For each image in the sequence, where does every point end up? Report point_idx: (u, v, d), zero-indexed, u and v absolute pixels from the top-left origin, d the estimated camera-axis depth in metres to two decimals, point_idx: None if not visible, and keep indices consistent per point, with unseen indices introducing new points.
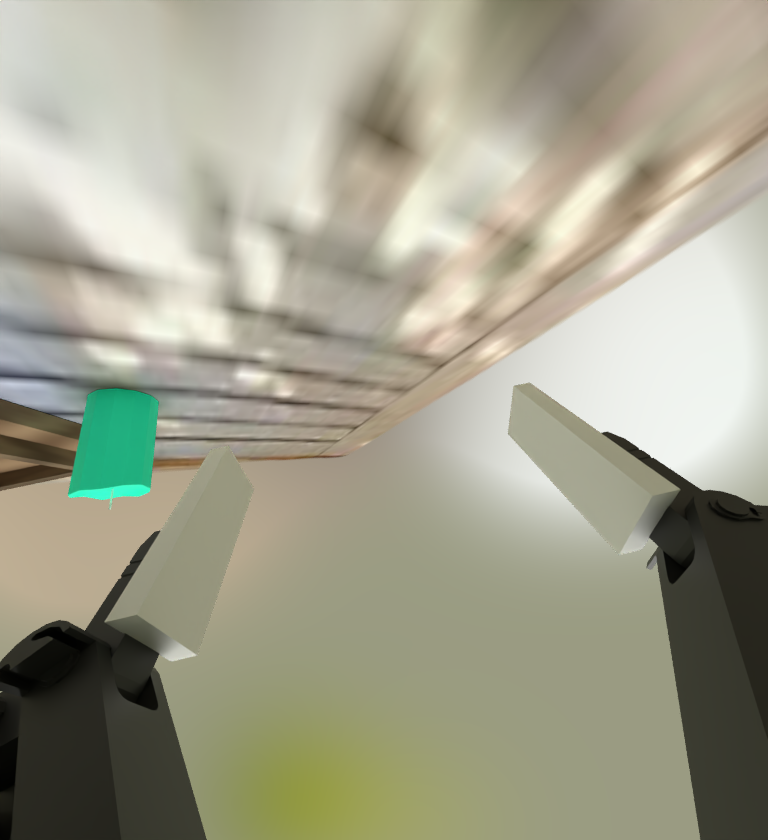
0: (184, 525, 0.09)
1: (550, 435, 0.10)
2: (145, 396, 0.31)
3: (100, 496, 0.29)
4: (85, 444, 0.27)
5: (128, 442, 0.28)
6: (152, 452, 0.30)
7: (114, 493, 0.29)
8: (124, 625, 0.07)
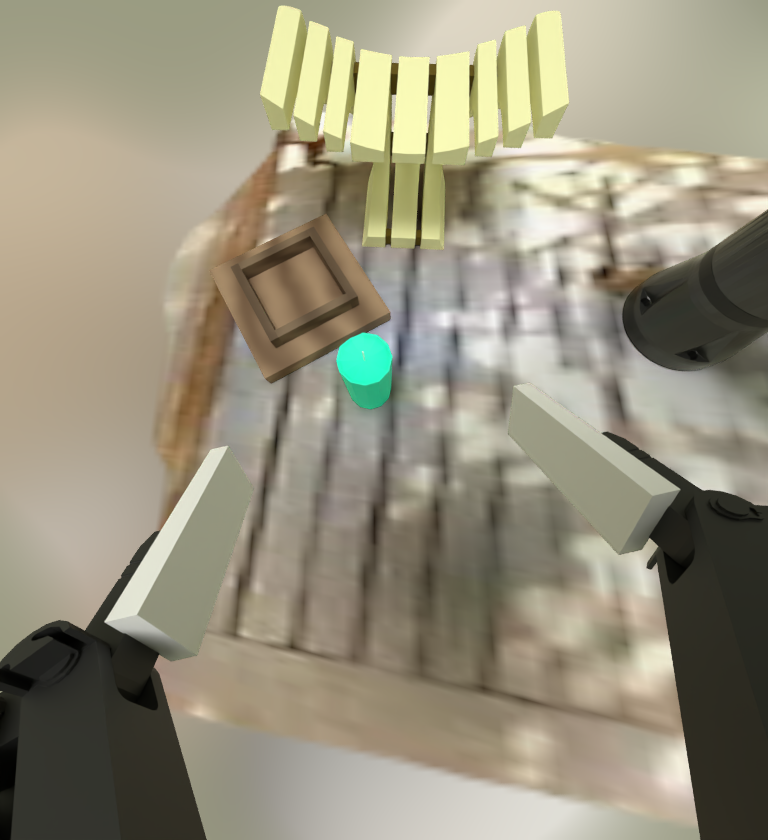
0: (184, 525, 0.09)
1: (550, 435, 0.10)
2: (383, 402, 0.39)
3: (345, 347, 0.30)
4: None
5: (389, 383, 0.33)
6: (369, 395, 0.33)
7: (346, 357, 0.30)
8: (124, 625, 0.07)
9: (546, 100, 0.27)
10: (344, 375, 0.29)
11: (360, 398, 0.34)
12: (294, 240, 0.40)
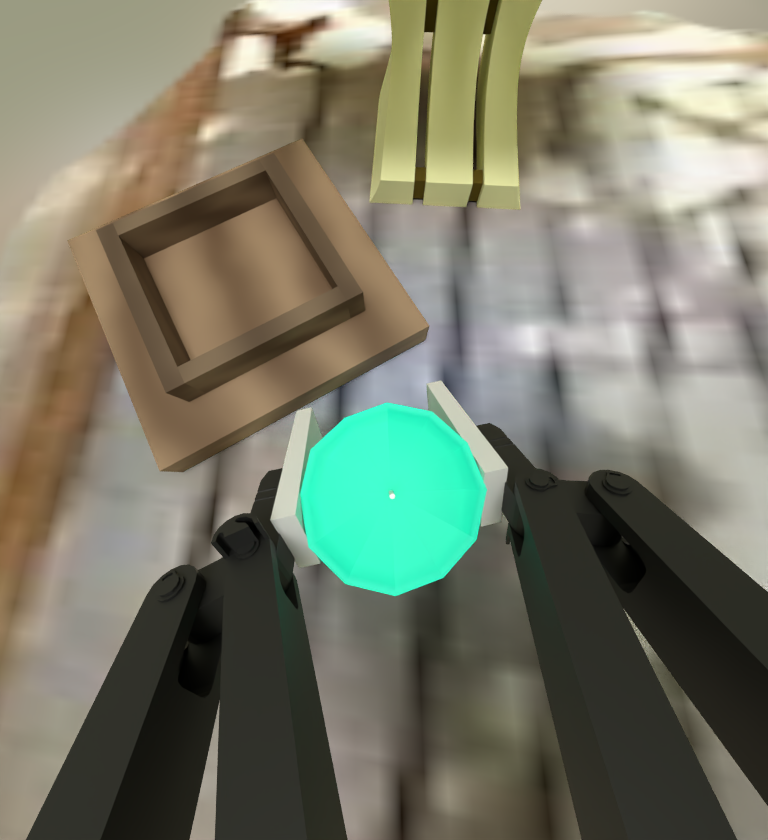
0: (302, 461, 0.10)
1: None
2: None
3: (329, 449, 0.09)
4: None
5: None
6: None
7: (331, 481, 0.09)
8: (282, 525, 0.08)
9: None
10: (324, 557, 0.08)
11: None
12: (234, 180, 0.20)
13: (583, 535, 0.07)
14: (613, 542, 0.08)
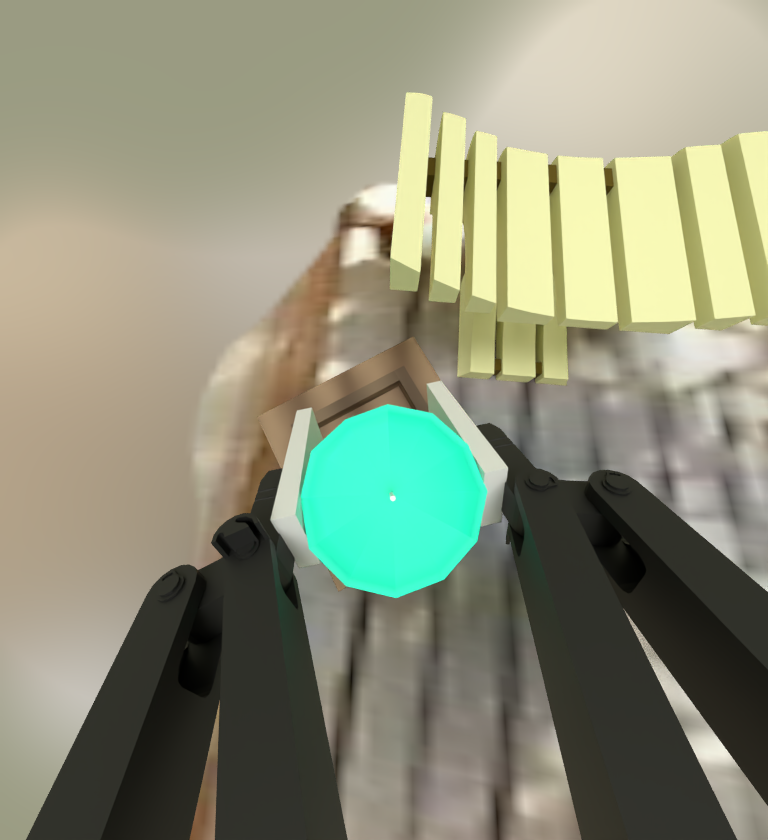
0: (302, 461, 0.10)
1: None
2: None
3: (330, 451, 0.09)
4: None
5: None
6: None
7: (331, 483, 0.09)
8: (282, 525, 0.08)
9: None
10: (325, 559, 0.08)
11: None
12: (378, 387, 0.29)
13: (583, 535, 0.07)
14: (613, 542, 0.08)
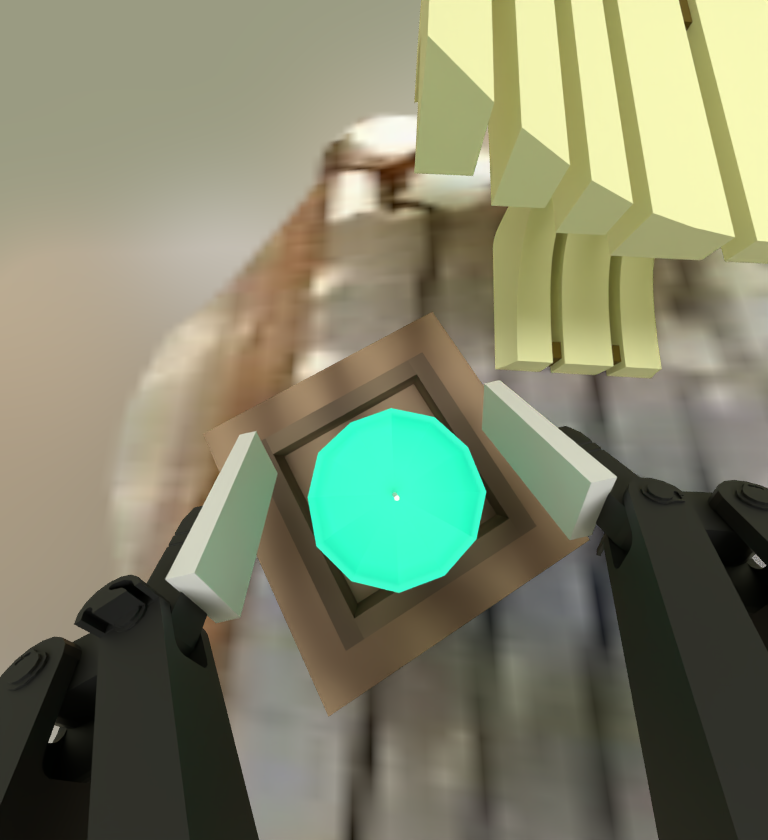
0: (225, 499, 0.09)
1: (514, 430, 0.11)
2: None
3: (336, 452, 0.10)
4: None
5: None
6: None
7: (337, 483, 0.10)
8: (181, 583, 0.07)
9: None
10: (331, 555, 0.09)
11: None
12: (385, 385, 0.19)
13: (716, 561, 0.06)
14: (735, 562, 0.07)
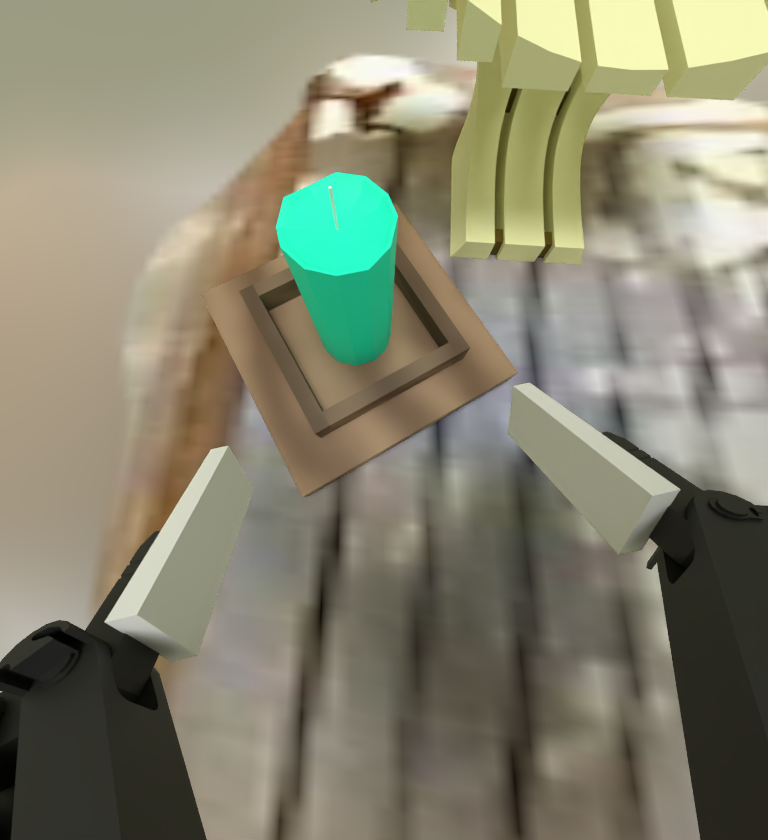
0: (184, 525, 0.09)
1: (550, 435, 0.10)
2: (378, 354, 0.23)
3: (297, 202, 0.14)
4: None
5: (388, 302, 0.17)
6: (350, 321, 0.17)
7: (297, 222, 0.14)
8: (124, 625, 0.07)
9: None
10: (291, 254, 0.13)
11: (335, 334, 0.18)
12: None
13: None
14: None
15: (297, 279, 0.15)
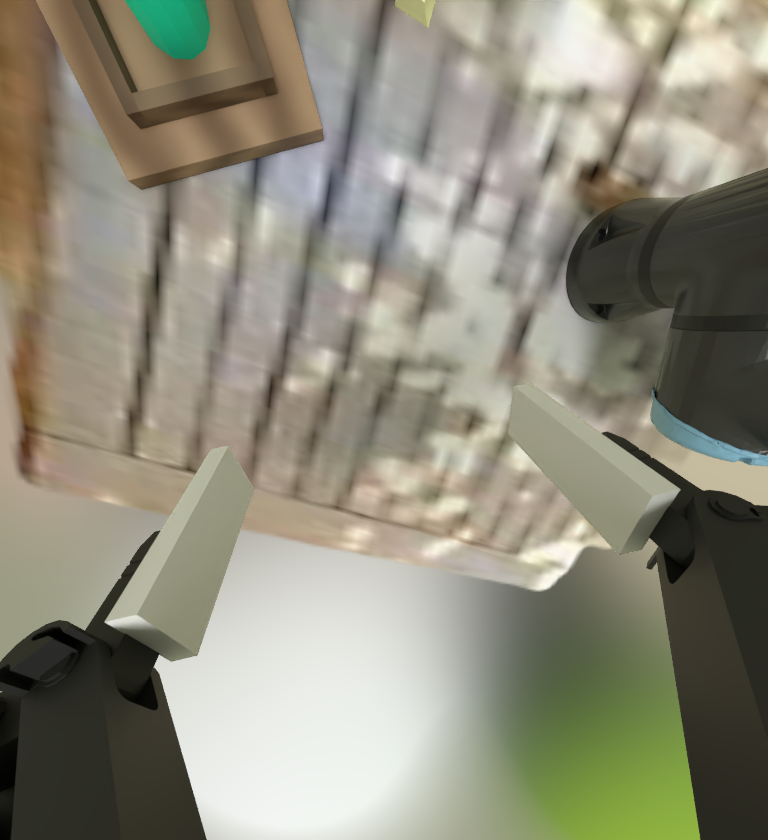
0: (184, 525, 0.09)
1: (550, 435, 0.10)
2: (195, 52, 0.25)
3: None
4: None
5: None
6: None
7: None
8: (124, 625, 0.07)
9: None
10: None
11: None
12: None
13: None
14: None
15: None
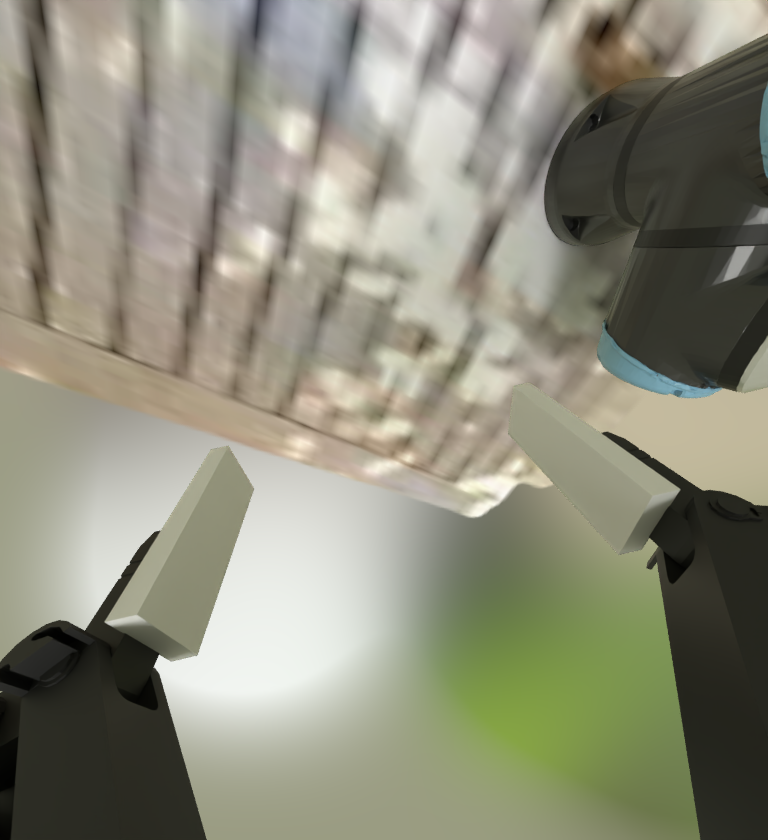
0: (184, 525, 0.09)
1: (550, 436, 0.10)
2: None
3: None
4: None
5: None
6: None
7: None
8: (124, 625, 0.07)
9: None
10: None
11: None
12: None
13: None
14: None
15: None
